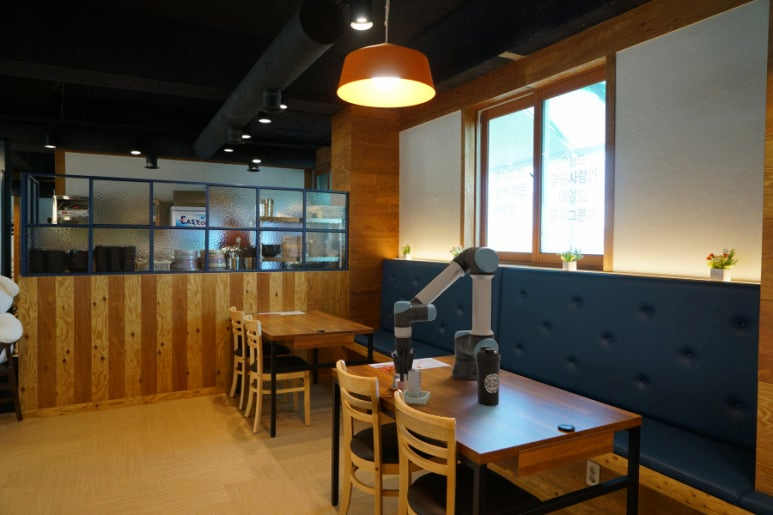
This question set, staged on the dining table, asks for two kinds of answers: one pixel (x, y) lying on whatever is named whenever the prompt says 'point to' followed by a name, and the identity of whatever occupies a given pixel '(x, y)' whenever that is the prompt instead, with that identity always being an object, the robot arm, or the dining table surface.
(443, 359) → the dining table surface
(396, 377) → the crank
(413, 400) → the tray
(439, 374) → the dining table surface
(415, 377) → the white upright block
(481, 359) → the water bottle
